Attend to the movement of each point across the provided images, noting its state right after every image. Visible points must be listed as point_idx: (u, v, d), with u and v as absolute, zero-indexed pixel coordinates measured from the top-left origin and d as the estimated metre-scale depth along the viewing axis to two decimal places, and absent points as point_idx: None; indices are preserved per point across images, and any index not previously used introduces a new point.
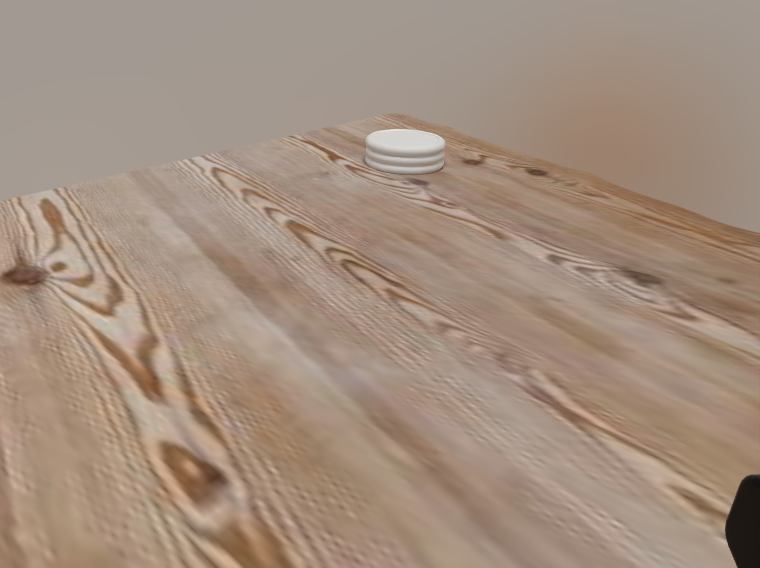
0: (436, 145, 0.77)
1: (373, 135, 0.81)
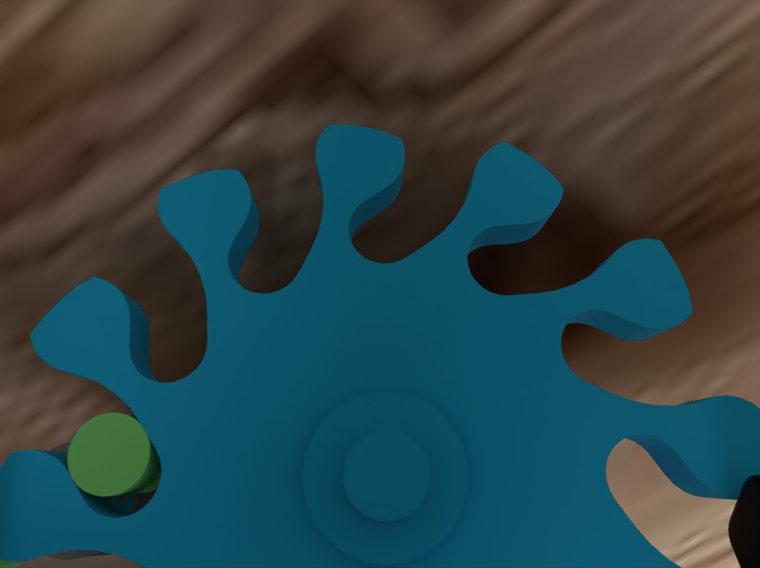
0: None
1: None
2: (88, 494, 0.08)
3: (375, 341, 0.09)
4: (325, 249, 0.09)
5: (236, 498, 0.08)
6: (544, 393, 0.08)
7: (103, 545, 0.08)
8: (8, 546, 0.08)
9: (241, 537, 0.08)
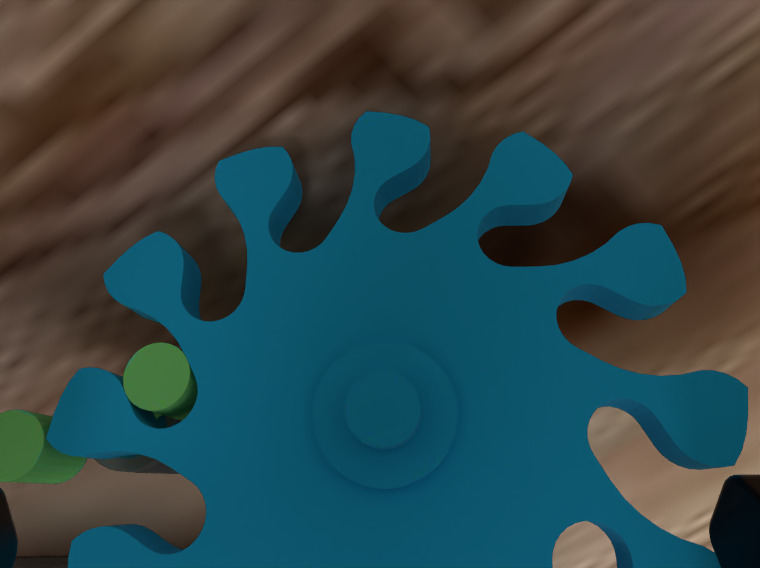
0: None
1: None
2: (137, 409, 0.10)
3: (388, 299, 0.10)
4: (352, 218, 0.10)
5: (256, 422, 0.09)
6: (535, 355, 0.09)
7: (145, 450, 0.09)
8: (71, 442, 0.09)
9: (257, 455, 0.09)
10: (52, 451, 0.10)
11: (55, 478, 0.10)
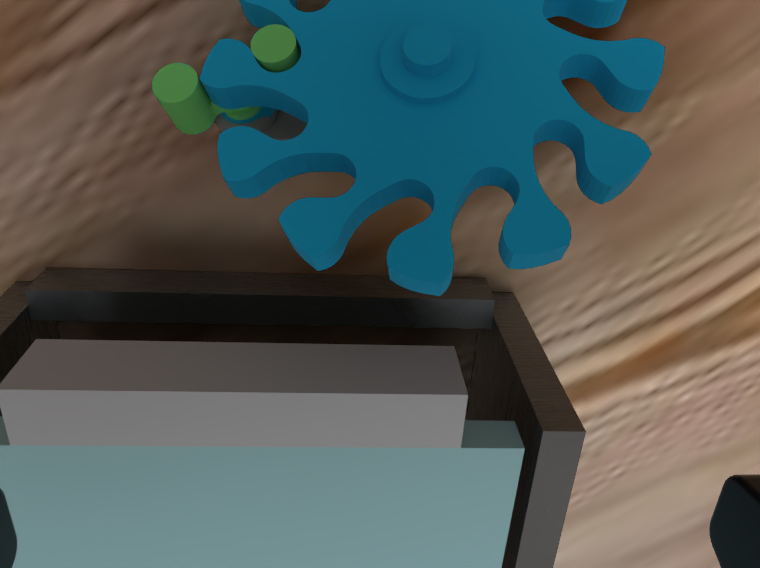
0: None
1: None
2: None
3: None
4: None
5: (341, 68, 0.14)
6: (527, 30, 0.14)
7: (267, 84, 0.14)
8: (216, 80, 0.14)
9: (342, 86, 0.14)
10: (200, 92, 0.14)
11: (197, 122, 0.15)
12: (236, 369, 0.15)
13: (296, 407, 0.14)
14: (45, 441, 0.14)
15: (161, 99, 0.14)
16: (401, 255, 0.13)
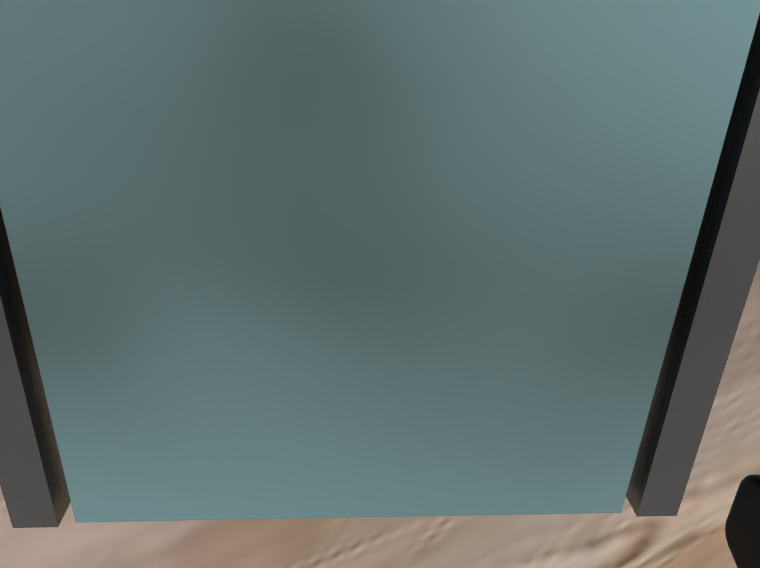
0: None
1: None
2: None
3: None
4: None
5: None
6: None
7: None
8: None
9: None
10: None
11: None
12: None
13: None
14: None
15: None
16: None
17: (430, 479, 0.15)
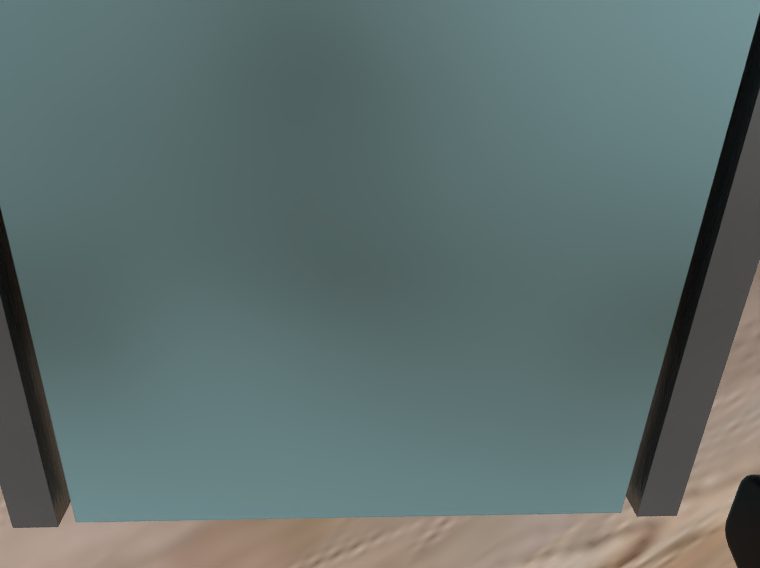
0: None
1: None
2: None
3: None
4: None
5: None
6: None
7: None
8: None
9: None
10: None
11: None
12: None
13: None
14: None
15: None
16: None
17: (430, 479, 0.15)
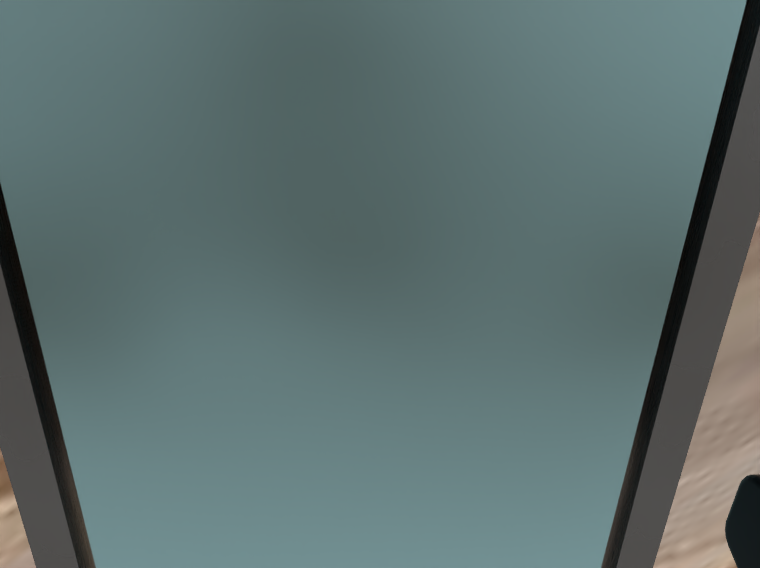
0: None
1: None
2: None
3: None
4: None
5: None
6: None
7: None
8: None
9: None
10: None
11: None
12: None
13: None
14: None
15: None
16: None
17: None
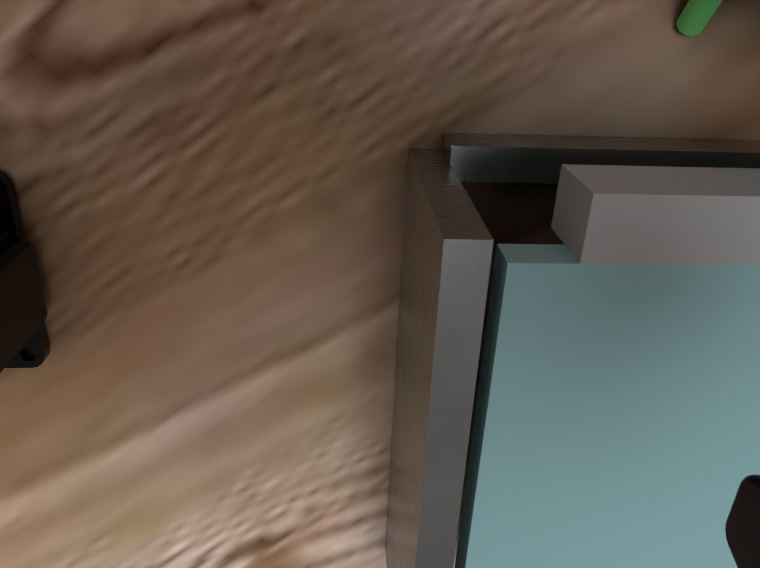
0: None
1: None
2: None
3: None
4: None
5: None
6: None
7: None
8: None
9: None
10: None
11: None
12: None
13: None
14: (617, 259, 0.13)
15: None
16: None
17: None
